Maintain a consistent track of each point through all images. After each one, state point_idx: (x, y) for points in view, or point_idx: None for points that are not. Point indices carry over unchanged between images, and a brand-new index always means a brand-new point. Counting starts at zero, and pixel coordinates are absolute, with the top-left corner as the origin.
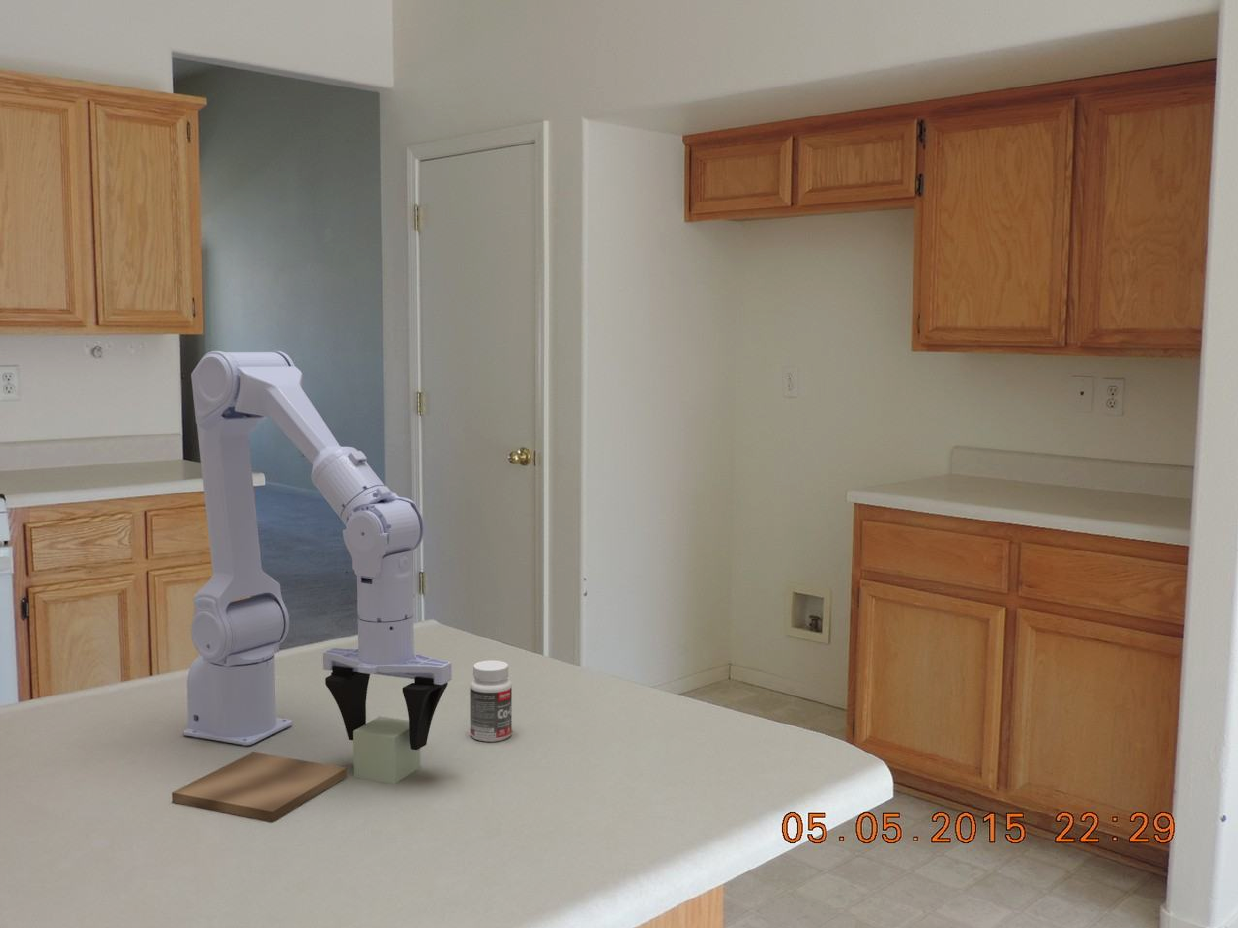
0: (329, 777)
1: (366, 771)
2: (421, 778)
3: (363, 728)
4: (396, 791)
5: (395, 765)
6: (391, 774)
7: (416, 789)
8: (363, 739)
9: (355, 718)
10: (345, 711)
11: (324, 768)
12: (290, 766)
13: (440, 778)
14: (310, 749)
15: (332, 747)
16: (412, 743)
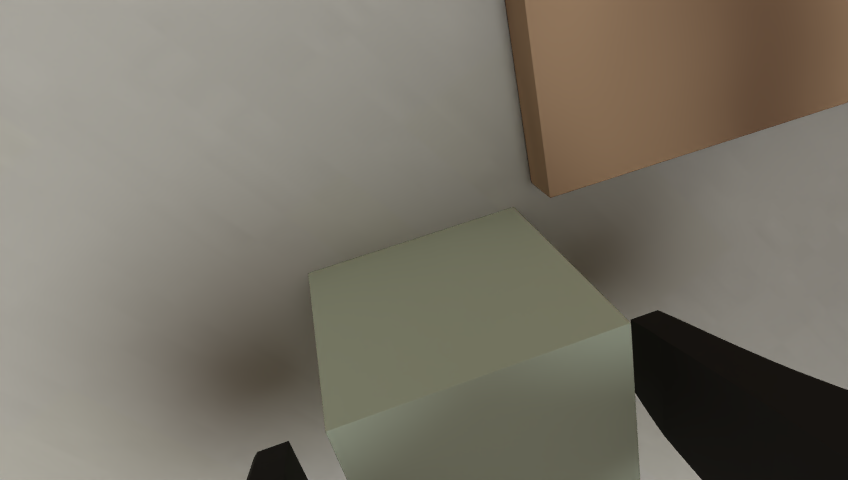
0: (536, 61)
1: (459, 240)
2: (264, 371)
3: (601, 382)
4: (222, 223)
5: (314, 323)
6: (327, 286)
7: (171, 294)
8: (537, 322)
9: (710, 414)
10: (791, 399)
11: (632, 124)
12: (785, 36)
13: (202, 418)
14: (820, 259)
15: (761, 318)
16: (265, 470)
